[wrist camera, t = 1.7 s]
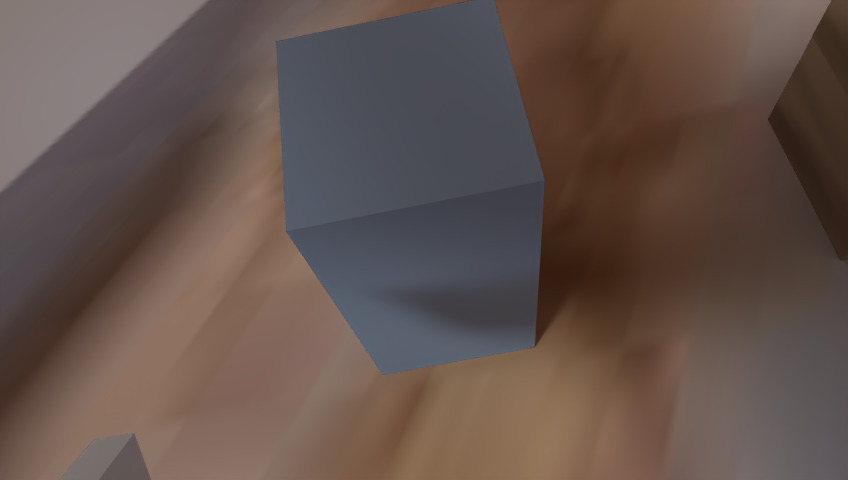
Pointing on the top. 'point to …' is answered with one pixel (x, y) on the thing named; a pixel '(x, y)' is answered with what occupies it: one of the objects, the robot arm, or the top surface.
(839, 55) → the tower top
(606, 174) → the top surface
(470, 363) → the top surface
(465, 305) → the blue block
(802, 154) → the tower base
